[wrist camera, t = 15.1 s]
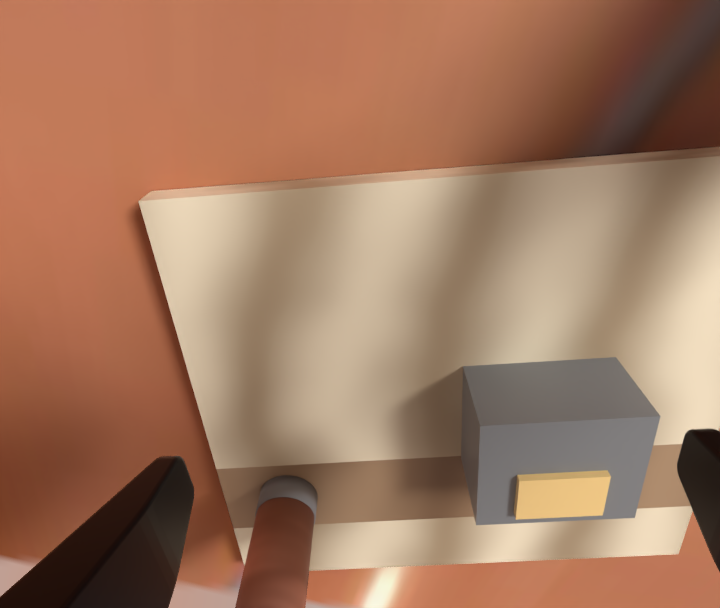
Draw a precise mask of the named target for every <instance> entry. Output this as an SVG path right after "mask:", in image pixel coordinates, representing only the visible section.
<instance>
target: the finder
mask: <svg viewBox="0 0 720 608" xmlns="http://www.w3.org/2000/svg"><path fill="white" fill-rule="evenodd" d="M660 417H661V416H660V415H659V413H658V412H657V411H656V409H655V408H654V407H653V405H652V404H651V403H650V402H649V400H648V399H647V398H646V396H645V395H644V394H643V392H642V391H641V390H640V388H639V387H638V386H637V384H636V383H635V382H634V380H633V379H632V378H631V376H630V375H629V374H628V372H627V371H626V370H625V368H624V367H623V366H622V365H621V363H620V362H619V361H618V359H617V358H616V357H609V358H593V359H576V360H559V361H543V362H526V363H509V364H493V365H476V366H463V391H462V442H461V460H462V464H463V469H464V473H465V478H466V482H467V487H468V491H469V496H470V500H471V505H472V509H473V513H474V518H475V522H476V525H494V524H516V523H537V522H558V521H579V520H601V519H622V518H635V515H636V511H637V507H638V503H639V499H640V495H641V491H642V487H643V483H644V480H645V476H646V472H647V468H648V464H649V460H650V456H651V452H652V448H653V444H654V440H655V436H656V432H657V428H658V424H659V420H660Z"/></svg>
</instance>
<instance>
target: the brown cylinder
mask: <svg viewBox="0 0 720 608" xmlns="http://www.w3.org/2000/svg"><path fill="white" fill-rule="evenodd" d="M317 500H318V494H317V491H316V489H315V488H314V486H313V485H312V484H311V483H310V482H308V481H307V480H305V479H303V478H300V477H297V476H291V475H282V476H277V477H274V478H272V479H270V480H268V481H267V482H265V484H264V485H263V486H262V488H261V491H260V495H259V500H258V504H257V508H256V513H255V522H254V527H253V531H252V536H251V540H250V545H249V549H248V554H247V558H246V562H245V567H244V571H243V576H242V580H241V585H240V589H239V594H238V598H237V603H236V607H235V608H305V605H306V595H307V586H308V576H309V567H310V557H311V547H312V538H313V528H314V524H315V520H316V510H317Z"/></svg>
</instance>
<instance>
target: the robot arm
mask: <svg viewBox="0 0 720 608" xmlns="http://www.w3.org/2000/svg"><path fill="white" fill-rule="evenodd" d="M677 472H678V476H679V479H680V481H681V484H682V486H683V488H684V491H685V493H686V496H687V498H688V500H689V503H690V505H691V508H692V510H693V512H694V515H695V517H696V520H697V522H698V524H699V527H700V529H701V532H702V534H703V536H704V539H705V541H706V544H707V546H708V548H709V551H710V553H711V555H712V557H713V559H714V562H715V564H716V566H717V568H718V570H719V571H720V431H718V430H716V429H711V428H706V429H691V430H688V431H687V432H686V433H685V436H684V439H683V443H682V447H681V450H680V454H679V458H678V461H677ZM193 499H194V487H193V484H192V481H191V478H190V476H189V473H188V470H187V467H186V465H185V462H184V460H183V458H182V457H180V456H163V457H159V458H157V459H156V460H154V461H153V462H152V463H151V464H150V465H149V466H148V467H146V468H145V469H144V470H143V471H142V472H141V473H140V474H139V475H137V476H136V477H135V478H134V479H133V480H132V481H131V482H130V483H128V484H127V485H126V486H125V487H124V488H123V489H122V490H120V491H119V492H118V493H117V494H116V495H115V496H114V497H113V498H111V499H110V500H109V501H108V502H107V503H106V504H105V505H104V506H102V507H101V508H100V509H99V510H98V511H97V512H96V513H94V514H93V515H92V516H91V517H90V518H89V519H88V520H87V521H85V522H84V523H83V524H82V525H81V526H80V527H79V528H78V529H76V530H75V531H74V532H73V533H72V534H71V535H70V536H69V537H67V538H66V539H65V540H64V541H63V542H62V543H61V544H59V545H58V546H57V547H56V548H55V549H54V550H53V551H52V552H50V553H49V554H48V555H47V556H46V557H45V558H44V559H43V560H41V561H40V562H39V563H38V564H37V565H36V566H35V567H33V568H32V569H31V570H30V571H29V572H28V573H27V574H26V575H24V576H23V577H22V578H21V579H20V580H19V581H18V582H17V583H15V584H14V585H13V586H12V587H11V588H10V589H9V590H7V591H6V592H5V593H4V594H3V595H2V596H1V597H0V608H168V607H169V604H170V600H171V597H172V594H173V591H174V587H175V584H176V581H177V576H178V572H179V568H180V563H181V558H182V553H183V548H184V543H185V539H186V534H187V529H188V524H189V519H190V514H191V509H192V504H193Z"/></svg>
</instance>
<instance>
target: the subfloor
mask: <svg viewBox="0 0 720 608" xmlns="http://www.w3.org/2000/svg"><path fill="white" fill-rule="evenodd" d="M138 202H139V205H140V209H141V212H142V215H143V219H144V222H145V226H146V229H147V233H148V236H149V240H150V243H151V246H152V250H153V253H154V257H155V260H156V264H157V267H158V270H159V274H160V277H161V281H162V284H163V288H164V291H165V295H166V298H167V301H168V305H169V308H170V312H171V315H172V319H173V322H174V325H175V329H176V332H177V336H178V339H179V343H180V346H181V350H182V353H183V356H184V360H185V363H186V367H187V370H188V374H189V377H190V380H191V384H192V387H193V391H194V394H195V398H196V401H197V405H198V408H199V411H200V415H201V418H202V422H203V425H204V429H205V432H206V436H207V439H208V442H209V446H210V449H211V453H212V456H213V460H214V463H215V466H216V470H217V473H218V477H219V480H220V484H221V487H222V491H223V494H224V497H225V501H226V504H227V508H228V511H229V515H230V518H231V521H232V525H233V528H234V532H235V535H236V539H237V542H238V546H239V549H240V552H241V556H242V559H243V563H244V566H245V562H246V558H247V554H248V549H249V545H250V540H251V536H252V531H253V527H254V522H255V513H256V508H257V504H258V500H259V495H260V491H261V488H262V486H263V485H264V484H265V482H267V481H268V480H270V479H272V478H274V477H277V476H282V475H291V476H297V477H300V478H303V479H305V480H307V481H308V482H310V483H311V484H312V485H313V486H314V488H315V489H316V491H317V494H318V500H317V510H316V520H315V524H314V528H313V538H312V547H311V557H310V567H309V571H314V570H337V569H359V568H381V567H403V566H425V565H448V564H470V563H492V562H514V561H536V560H559V559H581V558H603V557H625V556H647V555H670V554H679V551H680V548H681V545H682V541H683V538H684V535H685V532H686V529H687V526H688V523H689V520H690V517H691V514H692V511H693V510H692V508H691V505H690V503H689V500H688V498H687V496H686V493H685V491H684V488H683V486H682V484H681V481H680V479H679V476H678V472H677V461H678V458H679V454H680V450H681V447H682V443H683V439H684V436H685V433H686V432H687V431H688V430H691V429H706V428H711V429H716V430H718V431H719V428H720V147H708V148H695V149H683V150H670V151H657V152H644V153H632V154H619V155H606V156H593V157H580V158H568V159H555V160H542V161H529V162H517V163H504V164H491V165H478V166H466V167H453V168H440V169H427V170H415V171H402V172H389V173H376V174H364V175H351V176H338V177H325V178H313V179H300V180H287V181H274V182H261V183H249V184H236V185H223V186H210V187H198V188H185V189H172V190H159V191H151V192H149V193H148V194H147V195H146V196H144V197H143V198H142V199H141V200H139V201H138ZM609 357H616V358H617V359H618V361H619V362H620V363H621V365H622V366H623V367H624V368H625V370H626V371H627V372H628V374H629V375H630V376H631V378H632V379H633V380H634V382H635V383H636V384H637V386H638V387H639V388H640V390H641V391H642V392H643V394H644V395H645V396H646V398H647V399H648V400H649V402H650V403H651V404H652V405H653V407H654V408H655V409H656V411H657V412H658V413H659V415H660V416H661V417H660V420H659V424H658V428H657V432H656V436H655V440H654V444H653V448H652V452H651V456H650V460H649V464H648V468H647V472H646V476H645V480H644V483H643V487H642V491H641V495H640V499H639V503H638V507H637V511H636V515H635V518H622V519H601V520H579V521H558V522H537V523H516V524H494V525H476V522H475V518H474V513H473V509H472V505H471V500H470V496H469V491H468V487H467V482H466V478H465V473H464V469H463V464H462V460H461V442H462V391H463V366H476V365H493V364H509V363H526V362H543V361H559V360H576V359H593V358H609Z"/></svg>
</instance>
